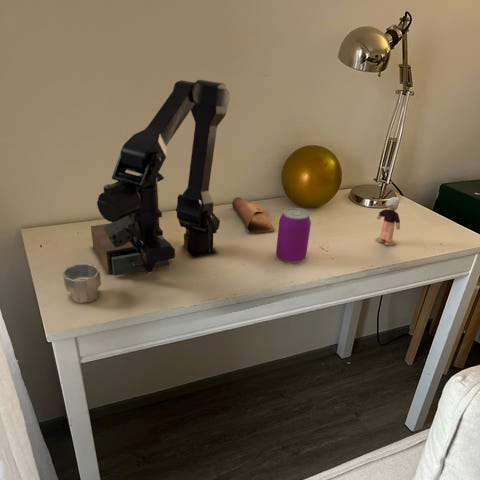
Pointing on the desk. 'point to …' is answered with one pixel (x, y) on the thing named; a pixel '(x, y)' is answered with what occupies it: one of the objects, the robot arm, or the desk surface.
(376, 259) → the desk surface
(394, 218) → the grandmother figurine
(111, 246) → the cabinet
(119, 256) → the drawer
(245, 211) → the sunglasses case
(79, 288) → the cup
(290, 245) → the beverage can
